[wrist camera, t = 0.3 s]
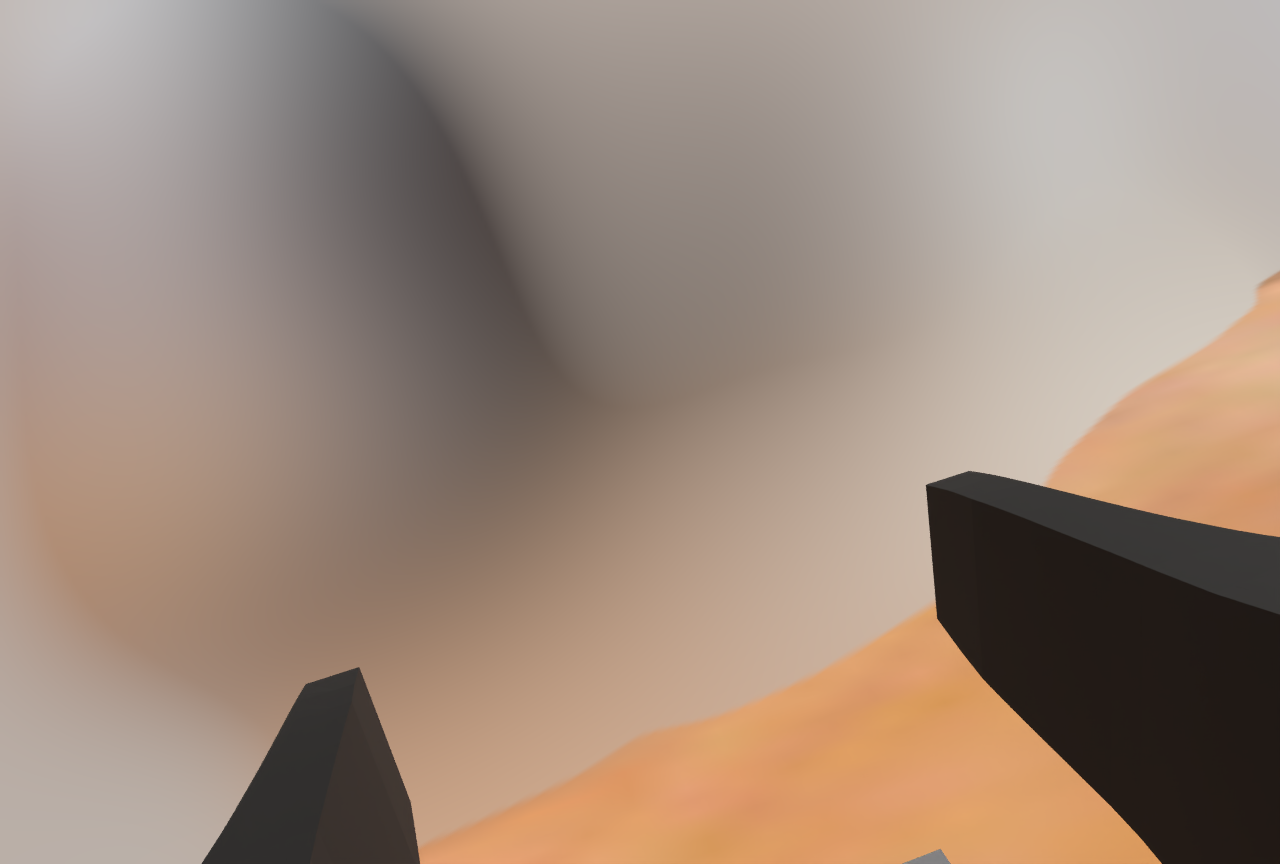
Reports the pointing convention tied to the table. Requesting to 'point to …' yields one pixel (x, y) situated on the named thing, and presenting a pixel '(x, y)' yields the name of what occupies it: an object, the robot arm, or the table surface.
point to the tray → (931, 858)
